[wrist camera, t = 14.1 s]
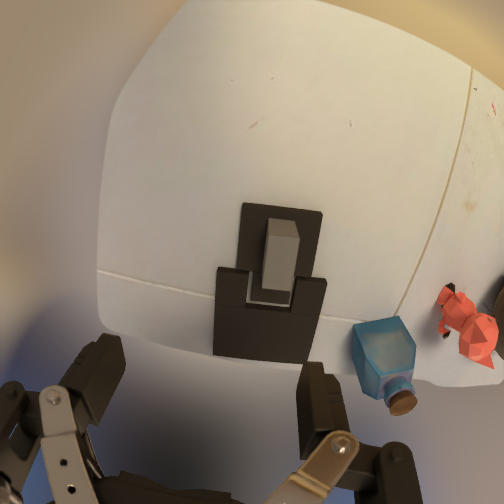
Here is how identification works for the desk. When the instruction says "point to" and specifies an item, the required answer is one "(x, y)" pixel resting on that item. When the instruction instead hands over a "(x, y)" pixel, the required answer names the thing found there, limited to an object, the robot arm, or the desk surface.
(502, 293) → the bowl
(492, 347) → the cat figurine
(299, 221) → the tab pad
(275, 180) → the desk surface
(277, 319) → the notch pad
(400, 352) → the perfume bottle
